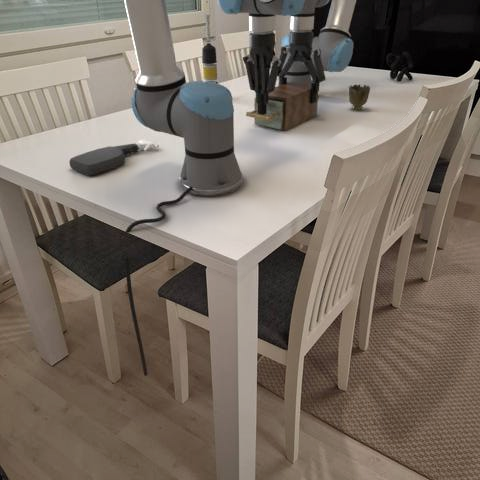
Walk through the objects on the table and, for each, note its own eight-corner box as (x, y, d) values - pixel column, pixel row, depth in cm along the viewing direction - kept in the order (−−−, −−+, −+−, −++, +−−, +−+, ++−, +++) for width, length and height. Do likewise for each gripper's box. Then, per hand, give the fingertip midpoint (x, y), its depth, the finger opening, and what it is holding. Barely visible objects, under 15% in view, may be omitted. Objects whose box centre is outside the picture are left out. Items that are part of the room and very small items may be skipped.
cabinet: (285, 131, 144) (286, 98, 138) (256, 124, 150) (256, 93, 144) (316, 115, 157) (318, 85, 152) (289, 110, 163) (290, 81, 158)
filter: (220, 99, 177) (217, 15, 161) (206, 100, 176) (202, 16, 160) (215, 96, 182) (212, 14, 166) (202, 97, 180) (197, 14, 164)
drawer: (269, 134, 138) (270, 107, 134) (243, 128, 144) (243, 102, 139) (310, 114, 155) (312, 90, 150) (286, 110, 160) (286, 86, 156)
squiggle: (400, 92, 202) (376, 71, 205) (417, 76, 202) (392, 56, 205) (405, 81, 191) (380, 59, 194) (423, 64, 191) (397, 42, 194)
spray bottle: (67, 168, 120) (139, 144, 136) (91, 178, 114) (163, 151, 130) (65, 157, 118) (137, 134, 134) (89, 167, 112) (162, 142, 128)
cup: (344, 110, 161) (346, 87, 157) (349, 105, 167) (352, 83, 162) (364, 113, 158) (367, 90, 154) (369, 107, 164) (372, 85, 159)
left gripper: (288, 32, 127) (286, 114, 139) (251, 29, 133) (252, 108, 146) (273, 35, 122) (272, 120, 134) (236, 32, 129) (238, 113, 141)
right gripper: (340, 31, 139) (333, 102, 151) (277, 27, 152) (275, 92, 163) (328, 34, 134) (322, 107, 146) (264, 29, 147) (263, 97, 158)
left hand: (262, 114), depth 140 cm, fingers closed
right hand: (297, 99), depth 155 cm, fingers closed on cabinet, 11 cm apart
